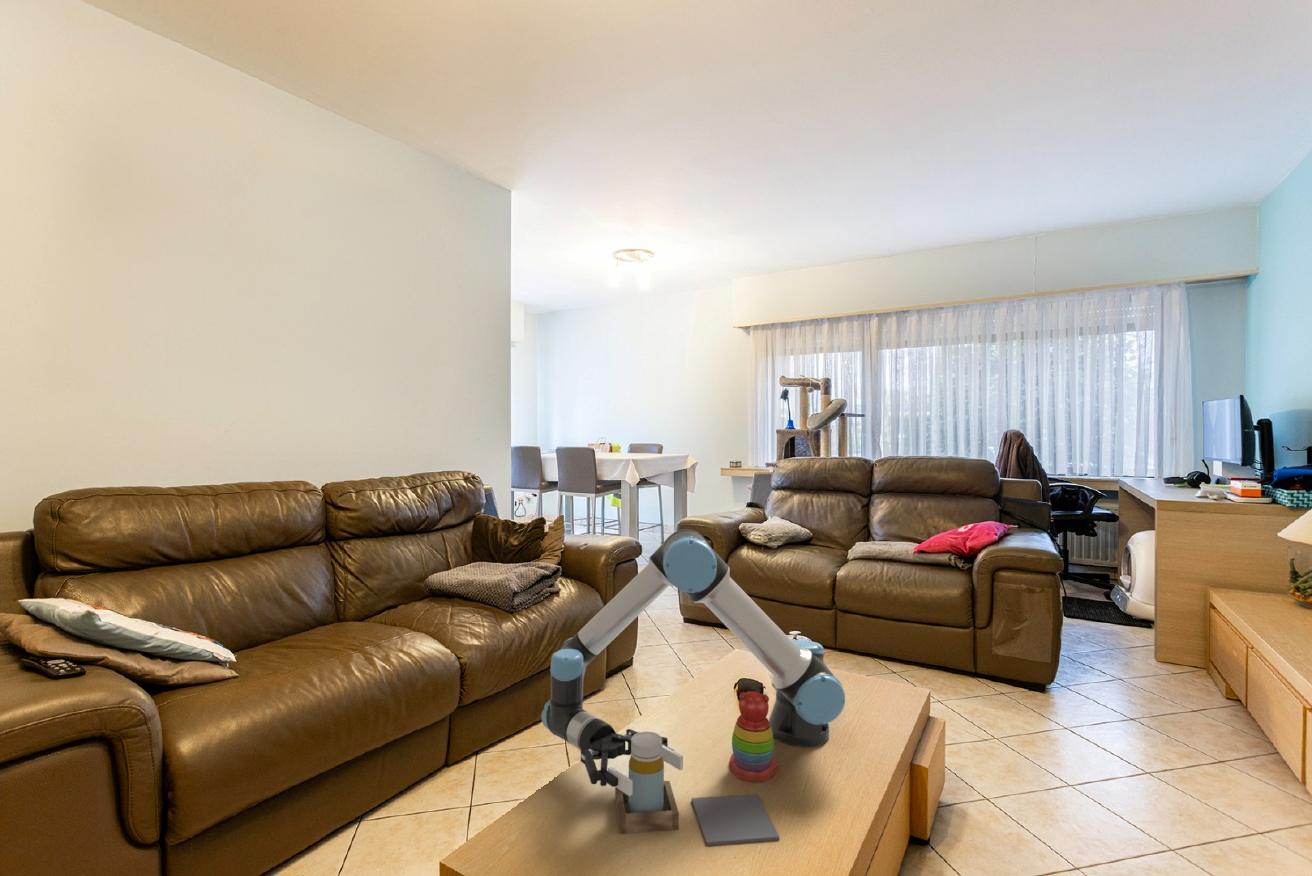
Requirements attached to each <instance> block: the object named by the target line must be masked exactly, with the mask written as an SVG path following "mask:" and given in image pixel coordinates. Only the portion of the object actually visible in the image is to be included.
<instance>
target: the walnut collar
mask: <svg viewBox="0 0 1312 876" xmlns="http://www.w3.org/2000/svg"><path fill="white" fill-rule="evenodd" d="M614 789H615V791H614V800H615V801H614V802H615V808H616V816H617V824H618V832H619V835H621V834H633V833H634V834H635V833H644V832H645V833H646V832H657V831H658V832H659V831H672V830H674V831H675V830H679V827H680V822H679V821H680V812H679V810H678V807H677V803H676V799H675V795H674V792H673V788H672V785H671V782H670V780H664V795H663V800H664V802H665V806H666V807H665V808H666V809H667V810H663V811H656V812H642V813H629V812H628V813H626V809H625V803H624V802H628V795H627V794H625V793H624V792H622V791H621V790H619V789H618V788H616V787H614Z"/></svg>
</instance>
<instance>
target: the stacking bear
mask: <svg viewBox="0 0 1312 876" xmlns="http://www.w3.org/2000/svg"><path fill="white" fill-rule="evenodd" d="M738 698H739V700H738V701H739V702H738V707H739V708H738V709H739V713H740V714H739V716H738V717H737V718H736V722H735V725H734V727H733V728H734V729H733V731H732V735H731V749H732V753H731V756H730V757H729V766H730V769H731V771H732V773H733V774H734V775H735V776H736V777H738V778H739V779H741V780H744V781H747V782H751V783H752V782H755V783H756V782H758V783H759V782H764V781H767V780H769V779H770V778H772V777H773V776H774V775H775V774H776V773H777V770H778V761H777V759H776V758H775V757H774V756H773V755H774V749H775V742H774V737H773V734H772V728H771V725H770V722H769V718H767V716H768V713H769V707H770V706H769V701H770V698H769V696H768V694H766V693H763V694H762V692H761V693H760V692H758V691H747V692H740V694H739V697H738Z"/></svg>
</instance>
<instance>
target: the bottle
mask: <svg viewBox="0 0 1312 876" xmlns="http://www.w3.org/2000/svg"><path fill="white" fill-rule="evenodd" d="M638 732H639V731H638ZM661 737H662V736H661V735H660V734H658V733H657V732H653V731H640V732H639V733H637V734H635V735H633V737H632V739H631V755H630V757H629V761H628V778H629V779H631V780H632V781H633V790H632V795H631V796H628V801H627V803H628V804H627V810H628V813H642V812H656V811H664V799H663V795H664V781H665V779H664V778H665V773H664V772H665V761H663V758H662V738H661Z"/></svg>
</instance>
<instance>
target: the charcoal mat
mask: <svg viewBox="0 0 1312 876" xmlns="http://www.w3.org/2000/svg"><path fill="white" fill-rule="evenodd" d="M691 803H692V806H693V808H694V812H695V815H696V818H697V821H698V824H699V827H700V830H701V832H702V833H701V834H702V836H703V839H704V841H705V845H706V846H717V845H730V844H733V845H734V844H742V843H743V844H744V843H755V842H768V841H770V842H771V841H779V840H780V835H779V833H778V831H777V829H776V827H775V825H774V823H773V822H772V820H771V818H770V815H769V814H768V812H767V810H766V807H765V806H764V804H763V802H762V801H761V799H760V796H759V794H758V793H749V794H748V793H747V794H736V795H735V794H734V795H733V794H732V795H721V796H720V795H719V796H717V795H715V796H706V797H705V796H704V797H691Z"/></svg>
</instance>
